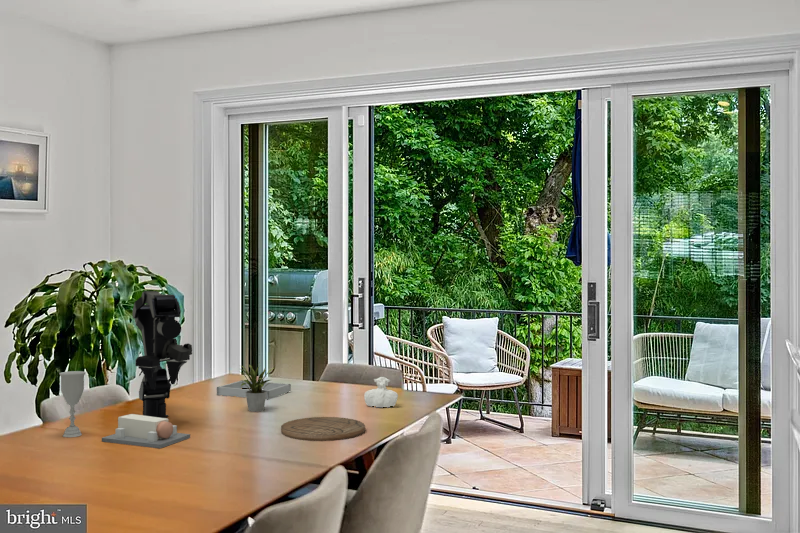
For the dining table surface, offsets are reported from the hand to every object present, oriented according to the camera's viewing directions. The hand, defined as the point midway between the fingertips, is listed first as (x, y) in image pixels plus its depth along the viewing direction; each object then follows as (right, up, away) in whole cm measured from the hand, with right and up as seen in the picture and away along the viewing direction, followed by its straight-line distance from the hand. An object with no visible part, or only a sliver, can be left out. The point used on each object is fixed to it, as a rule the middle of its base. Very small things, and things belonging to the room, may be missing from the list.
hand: (163, 386), depth 227 cm
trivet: (+49, -13, -5) cm, 51 cm away
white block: (0, -11, -17) cm, 20 cm away
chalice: (-22, -12, -13) cm, 28 cm away
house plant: (+22, -12, +25) cm, 35 cm away
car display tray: (+17, -12, +56) cm, 59 cm away
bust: (+66, -13, +33) cm, 75 cm away
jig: (+1, -12, -17) cm, 21 cm away
